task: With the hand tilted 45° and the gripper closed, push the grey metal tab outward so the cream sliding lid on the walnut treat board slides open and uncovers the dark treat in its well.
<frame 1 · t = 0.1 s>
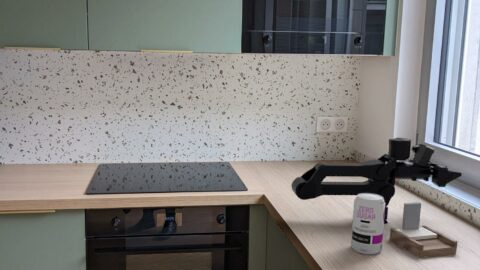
hand: (453, 171, 172), 17 cm above the worktop, tool horizontal, fingers open, 9 cm apart
treat board: (421, 246, 149), on the worktop
supplement can: (365, 250, 145), on the worktop
lid: (417, 220, 151), point 7 cm above the worktop, slide at 0.0 cm
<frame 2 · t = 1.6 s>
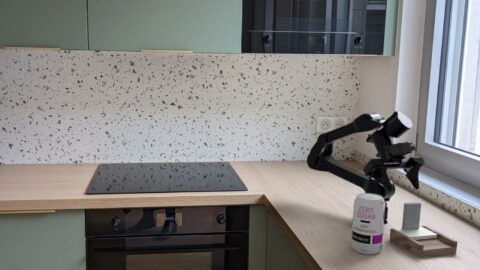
hand: (405, 190, 157), 14 cm above the worktop, tool tilted 45°, fingers open, 9 cm apart
nothing on the worktop moved.
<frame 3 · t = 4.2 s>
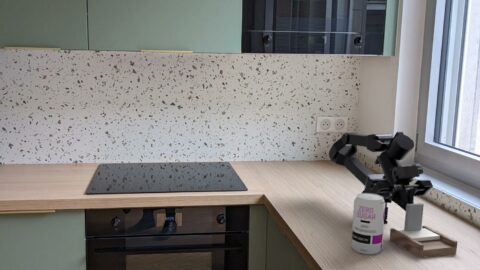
hand: (412, 214, 153), 8 cm above the worktop, tool tilted 45°, fingers closed, pressing on lid
lid: (419, 221, 150), point 7 cm above the worktop, slide at 1.1 cm, touching gripper
everything else where it was.
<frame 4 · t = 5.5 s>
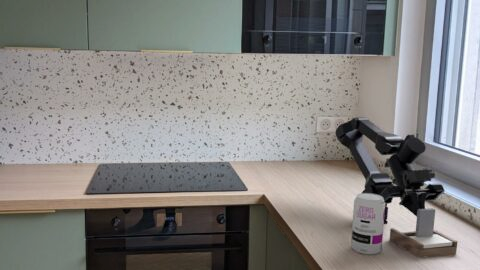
hand: (423, 219, 148), 8 cm above the worktop, tool tilted 45°, fingers closed, pressing on lid
lid: (431, 227, 145), point 7 cm above the worktop, slide at 6.1 cm, touching gripper
everything else where it was.
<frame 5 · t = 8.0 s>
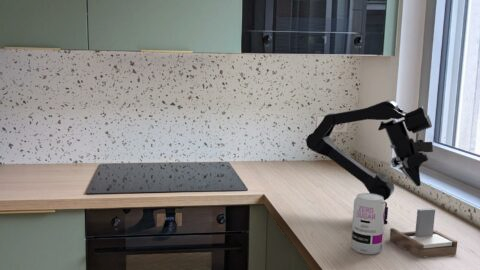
hand: (418, 185, 164), 13 cm above the worktop, tool tilted 25°, fingers closed
lid: (431, 227, 145), point 7 cm above the worktop, slide at 6.0 cm
everything else where it was.
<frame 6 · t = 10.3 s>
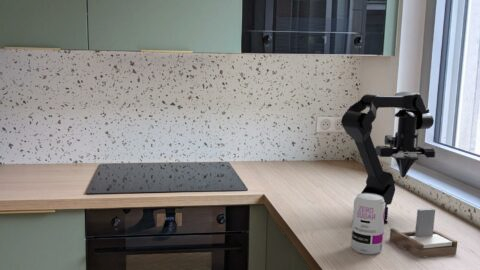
hand: (402, 177, 176), 13 cm above the worktop, tool pointing down, fingers closed
nothing on the worktop moved.
at the end: lid slide at 6.0 cm; supplement can moved 0.2 cm from its start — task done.
